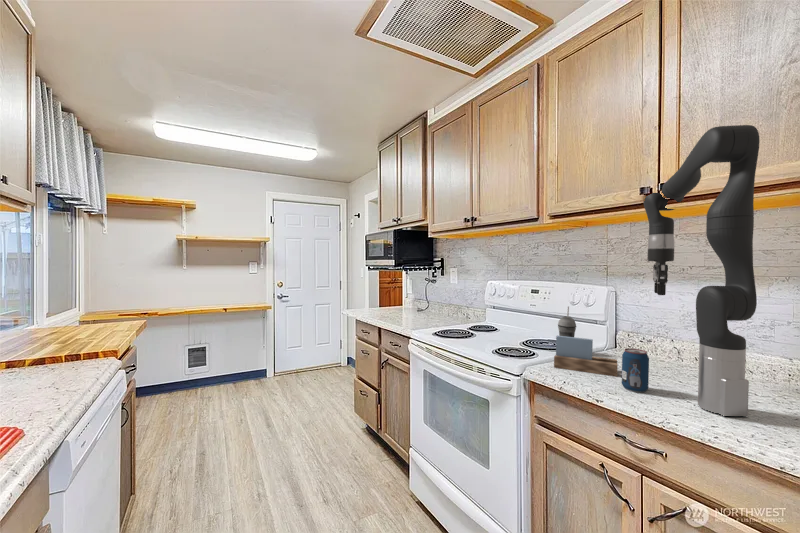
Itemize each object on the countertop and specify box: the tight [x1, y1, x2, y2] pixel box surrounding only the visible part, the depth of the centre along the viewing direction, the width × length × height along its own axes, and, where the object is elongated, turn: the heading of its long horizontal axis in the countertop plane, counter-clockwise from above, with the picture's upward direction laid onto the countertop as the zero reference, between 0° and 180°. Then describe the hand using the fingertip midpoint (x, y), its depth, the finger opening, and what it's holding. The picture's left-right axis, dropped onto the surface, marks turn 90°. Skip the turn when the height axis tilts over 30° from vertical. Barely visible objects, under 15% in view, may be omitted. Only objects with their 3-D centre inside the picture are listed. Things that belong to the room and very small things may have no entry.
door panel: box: [555, 335, 594, 360], centre depth 132 cm, size 12×2×10 cm, turn 60°
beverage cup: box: [557, 306, 577, 337], centre depth 153 cm, size 7×7×20 cm
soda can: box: [621, 347, 650, 394], centre depth 110 cm, size 7×7×12 cm
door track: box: [553, 354, 619, 377], centre depth 130 cm, size 20×8×4 cm, turn 60°
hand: (659, 294), depth 125 cm, fingers open, 8 cm apart
